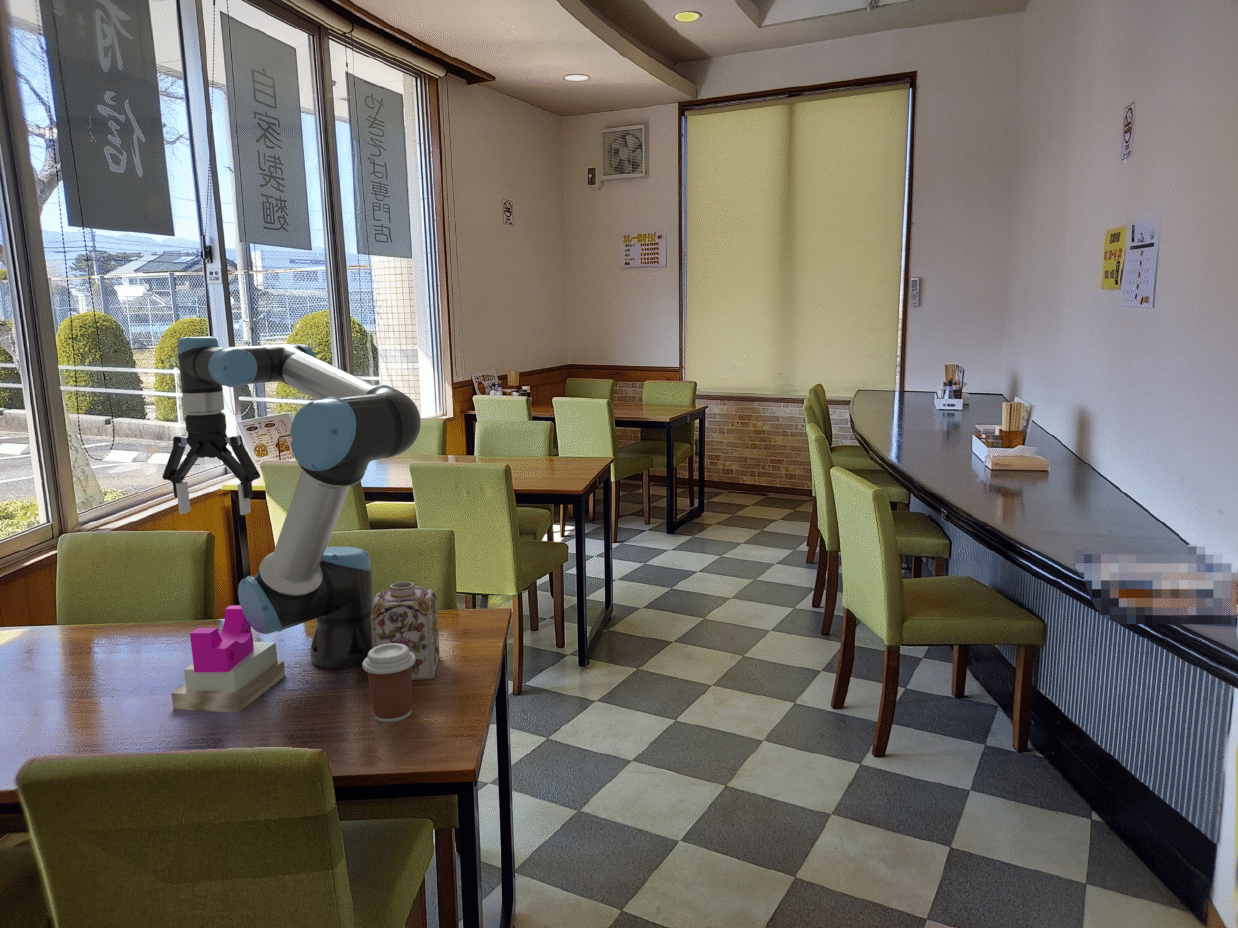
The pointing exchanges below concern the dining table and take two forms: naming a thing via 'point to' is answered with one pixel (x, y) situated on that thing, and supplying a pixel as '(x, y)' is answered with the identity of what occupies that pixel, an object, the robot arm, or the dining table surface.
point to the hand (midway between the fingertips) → (215, 513)
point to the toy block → (222, 643)
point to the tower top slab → (234, 671)
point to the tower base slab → (228, 693)
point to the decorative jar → (408, 624)
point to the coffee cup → (390, 681)
